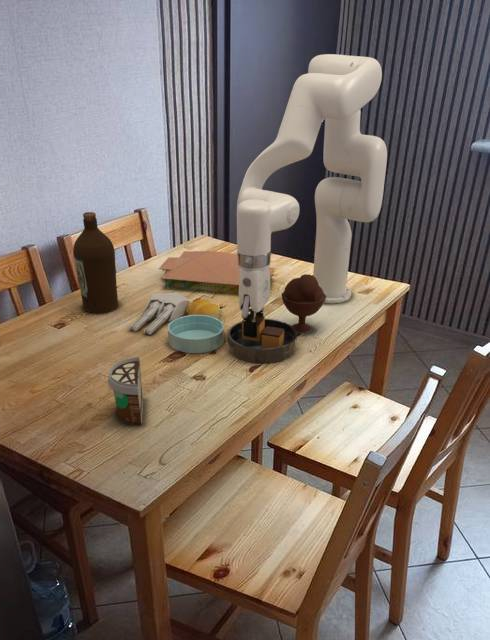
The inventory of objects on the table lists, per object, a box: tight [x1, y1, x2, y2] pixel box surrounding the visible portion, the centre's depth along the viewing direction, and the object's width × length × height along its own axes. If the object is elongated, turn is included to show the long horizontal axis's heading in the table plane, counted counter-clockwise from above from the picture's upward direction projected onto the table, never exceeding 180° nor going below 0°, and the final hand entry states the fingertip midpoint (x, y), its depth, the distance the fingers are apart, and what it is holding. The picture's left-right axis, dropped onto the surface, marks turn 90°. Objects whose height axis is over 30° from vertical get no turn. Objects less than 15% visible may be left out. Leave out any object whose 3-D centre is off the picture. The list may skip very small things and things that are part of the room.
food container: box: [107, 356, 144, 426], centre depth 136 cm, size 12×6×10 cm, turn 5°
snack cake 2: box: [261, 326, 284, 349], centre depth 160 cm, size 4×4×5 cm
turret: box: [128, 292, 191, 336], centre depth 175 cm, size 10×20×5 cm, turn 153°
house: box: [158, 250, 275, 296], centre depth 197 cm, size 23×33×8 cm
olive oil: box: [72, 211, 119, 314], centre depth 176 cm, size 11×11×25 cm
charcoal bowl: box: [227, 318, 298, 365], centre depth 161 cm, size 17×17×4 cm
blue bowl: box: [166, 314, 225, 354], centre depth 164 cm, size 14×14×4 cm
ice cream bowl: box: [280, 273, 326, 334], centre depth 167 cm, size 11×11×15 cm
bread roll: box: [186, 298, 222, 319], centre depth 177 cm, size 8×9×4 cm
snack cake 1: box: [241, 314, 266, 341], centre depth 161 cm, size 4×4×5 cm
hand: (253, 331), depth 161 cm, fingers closed on snack cake 1, 4 cm apart
